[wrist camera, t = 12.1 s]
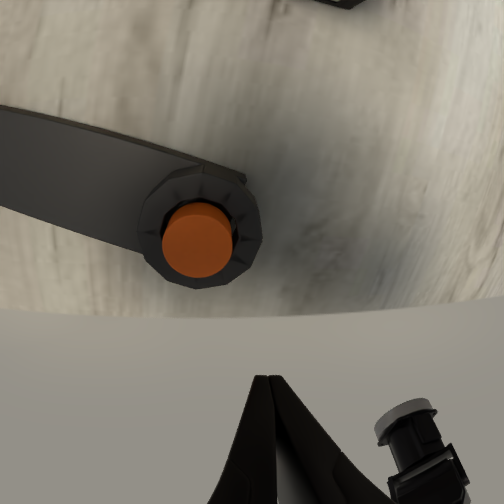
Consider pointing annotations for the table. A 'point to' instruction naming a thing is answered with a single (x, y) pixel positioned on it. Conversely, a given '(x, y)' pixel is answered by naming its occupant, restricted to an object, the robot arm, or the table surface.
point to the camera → (342, 3)
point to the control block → (119, 189)
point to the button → (198, 240)
